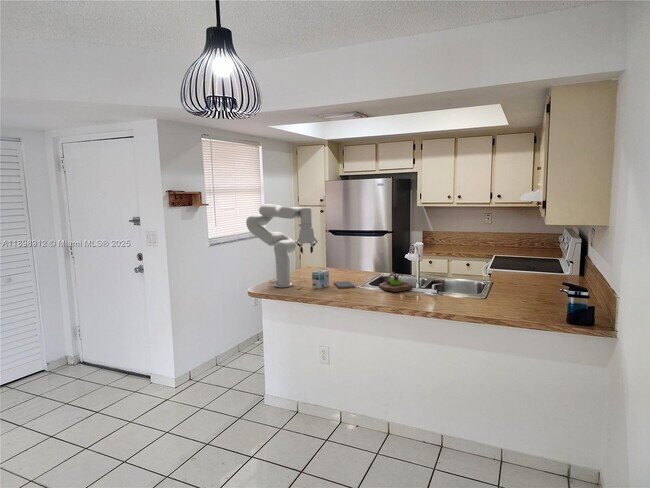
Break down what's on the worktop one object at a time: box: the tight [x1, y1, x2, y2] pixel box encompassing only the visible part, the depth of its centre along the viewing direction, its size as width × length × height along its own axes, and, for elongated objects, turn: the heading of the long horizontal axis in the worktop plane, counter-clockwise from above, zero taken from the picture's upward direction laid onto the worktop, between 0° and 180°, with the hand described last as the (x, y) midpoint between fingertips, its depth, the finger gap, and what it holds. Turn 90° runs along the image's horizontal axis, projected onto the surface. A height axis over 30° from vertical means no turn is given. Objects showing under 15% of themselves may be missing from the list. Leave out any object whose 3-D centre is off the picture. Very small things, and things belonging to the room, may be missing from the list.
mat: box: [333, 280, 356, 290], centre depth 274 cm, size 11×16×2 cm
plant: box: [378, 271, 413, 293], centre depth 265 cm, size 20×20×11 cm
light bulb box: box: [311, 269, 330, 290], centre depth 272 cm, size 11×7×11 cm, turn 143°
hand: (306, 252), depth 268 cm, fingers open, 5 cm apart
